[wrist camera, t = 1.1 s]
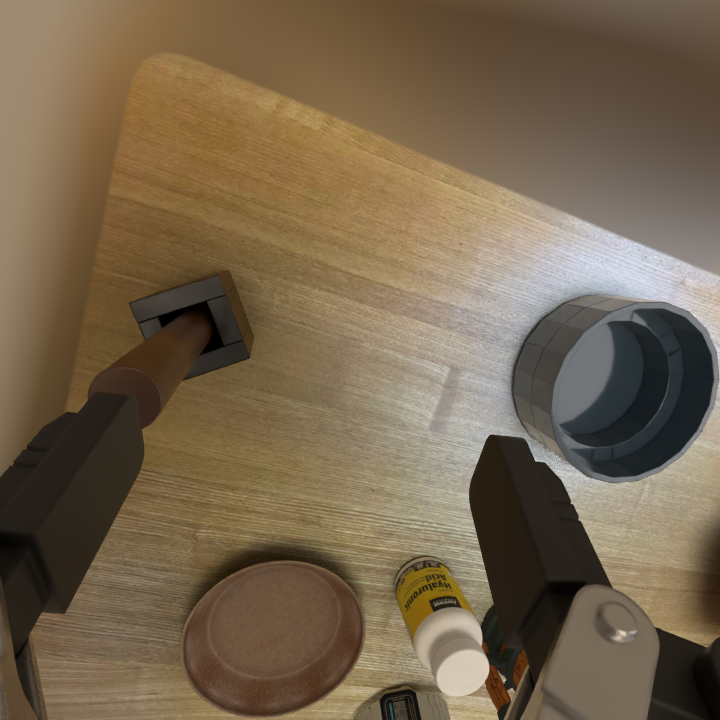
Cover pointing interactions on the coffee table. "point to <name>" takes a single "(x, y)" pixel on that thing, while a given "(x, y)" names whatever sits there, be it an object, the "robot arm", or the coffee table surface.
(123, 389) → the stirring stick
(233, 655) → the saucer
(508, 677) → the mug
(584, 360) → the bowl
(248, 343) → the stand
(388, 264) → the coffee table surface
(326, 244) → the coffee table surface
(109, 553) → the coffee table surface
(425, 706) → the wristwatch
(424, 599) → the supplement bottle
